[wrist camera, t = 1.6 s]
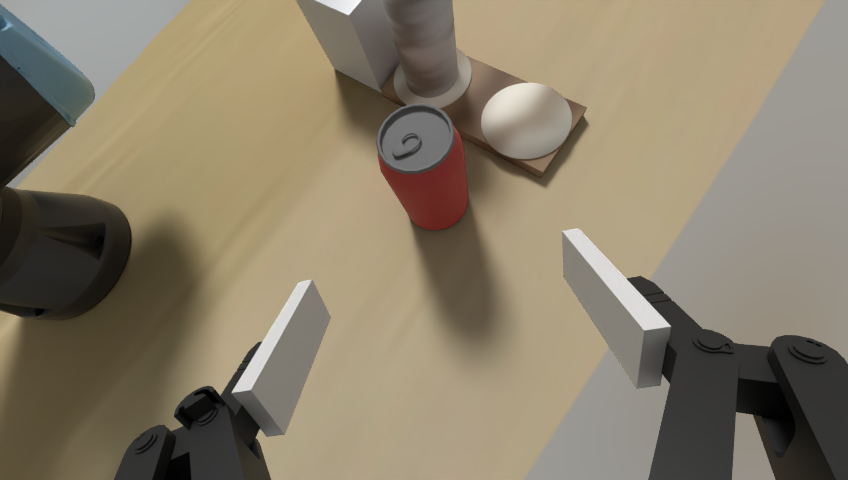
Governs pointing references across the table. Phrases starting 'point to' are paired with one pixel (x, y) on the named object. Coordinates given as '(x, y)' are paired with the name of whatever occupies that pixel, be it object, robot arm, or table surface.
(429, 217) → the beer can
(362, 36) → the white upright block
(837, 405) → the robot arm
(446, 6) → the board
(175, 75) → the table surface
